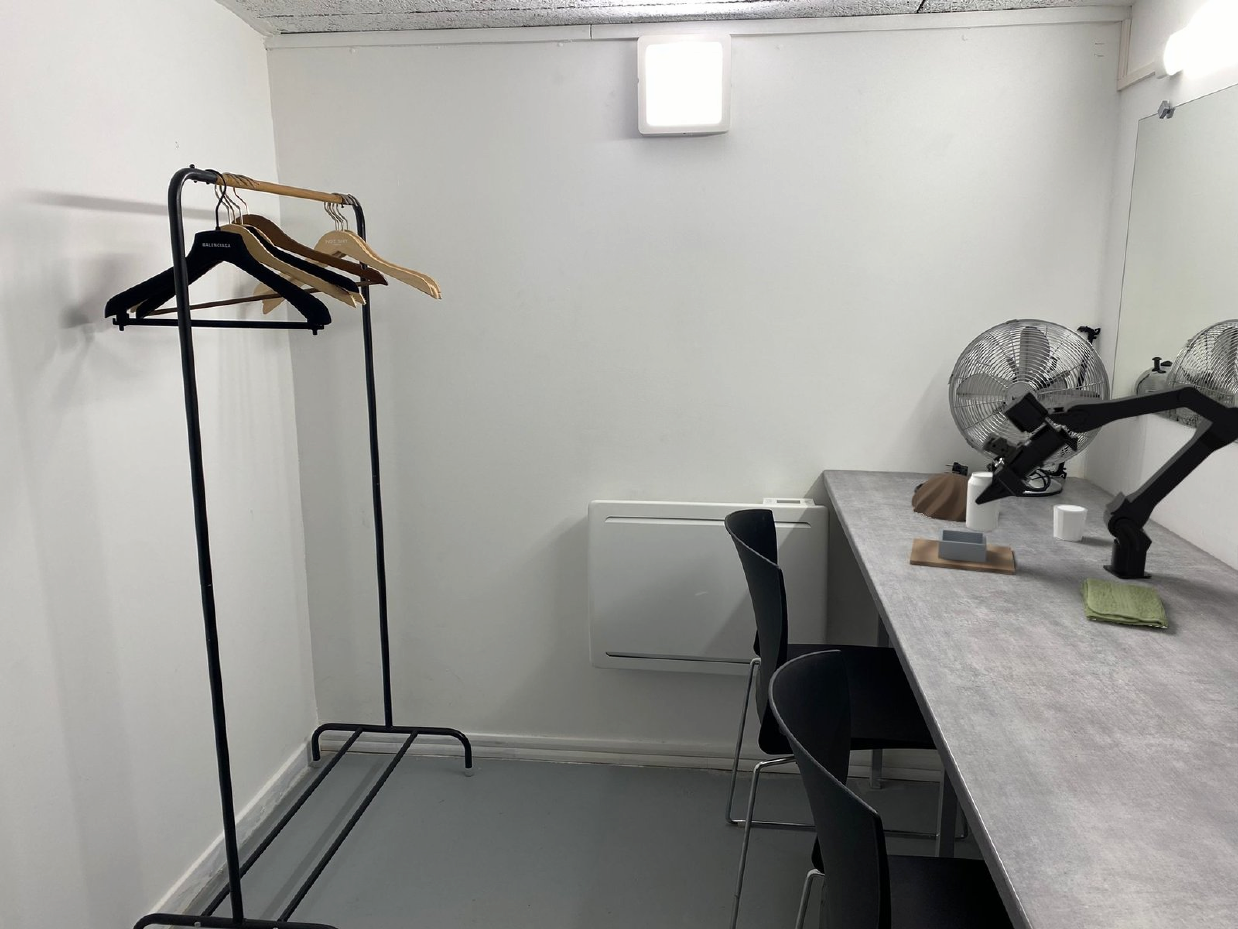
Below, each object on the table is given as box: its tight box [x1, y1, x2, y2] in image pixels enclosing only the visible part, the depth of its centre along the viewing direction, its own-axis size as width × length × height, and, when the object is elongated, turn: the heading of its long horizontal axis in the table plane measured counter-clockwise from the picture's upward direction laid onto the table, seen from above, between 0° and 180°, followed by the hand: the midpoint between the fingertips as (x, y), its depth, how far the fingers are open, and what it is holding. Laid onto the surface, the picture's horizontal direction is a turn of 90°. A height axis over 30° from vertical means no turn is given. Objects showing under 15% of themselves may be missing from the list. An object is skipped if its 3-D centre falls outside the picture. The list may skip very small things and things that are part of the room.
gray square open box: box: [938, 528, 988, 562], centre depth 188 cm, size 9×9×4 cm
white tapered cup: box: [1053, 503, 1089, 542], centre depth 201 cm, size 7×7×7 cm
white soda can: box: [965, 471, 1000, 534], centre depth 185 cm, size 6×6×12 cm
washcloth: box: [1079, 577, 1170, 629], centre depth 160 cm, size 13×18×3 cm
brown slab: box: [909, 537, 1016, 575], centre depth 189 cm, size 20×16×1 cm
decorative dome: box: [911, 472, 971, 522], centre depth 223 cm, size 19×20×10 cm
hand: (976, 499), depth 185 cm, fingers closed on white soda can, 6 cm apart
